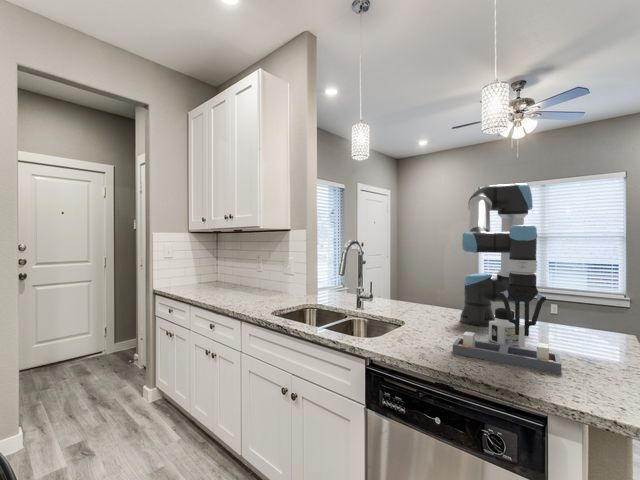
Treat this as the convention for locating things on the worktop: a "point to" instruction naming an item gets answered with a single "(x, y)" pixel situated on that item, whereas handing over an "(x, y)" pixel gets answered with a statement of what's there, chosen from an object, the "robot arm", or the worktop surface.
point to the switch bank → (508, 355)
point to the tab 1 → (469, 339)
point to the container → (503, 329)
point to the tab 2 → (542, 351)
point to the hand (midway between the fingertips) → (521, 345)
